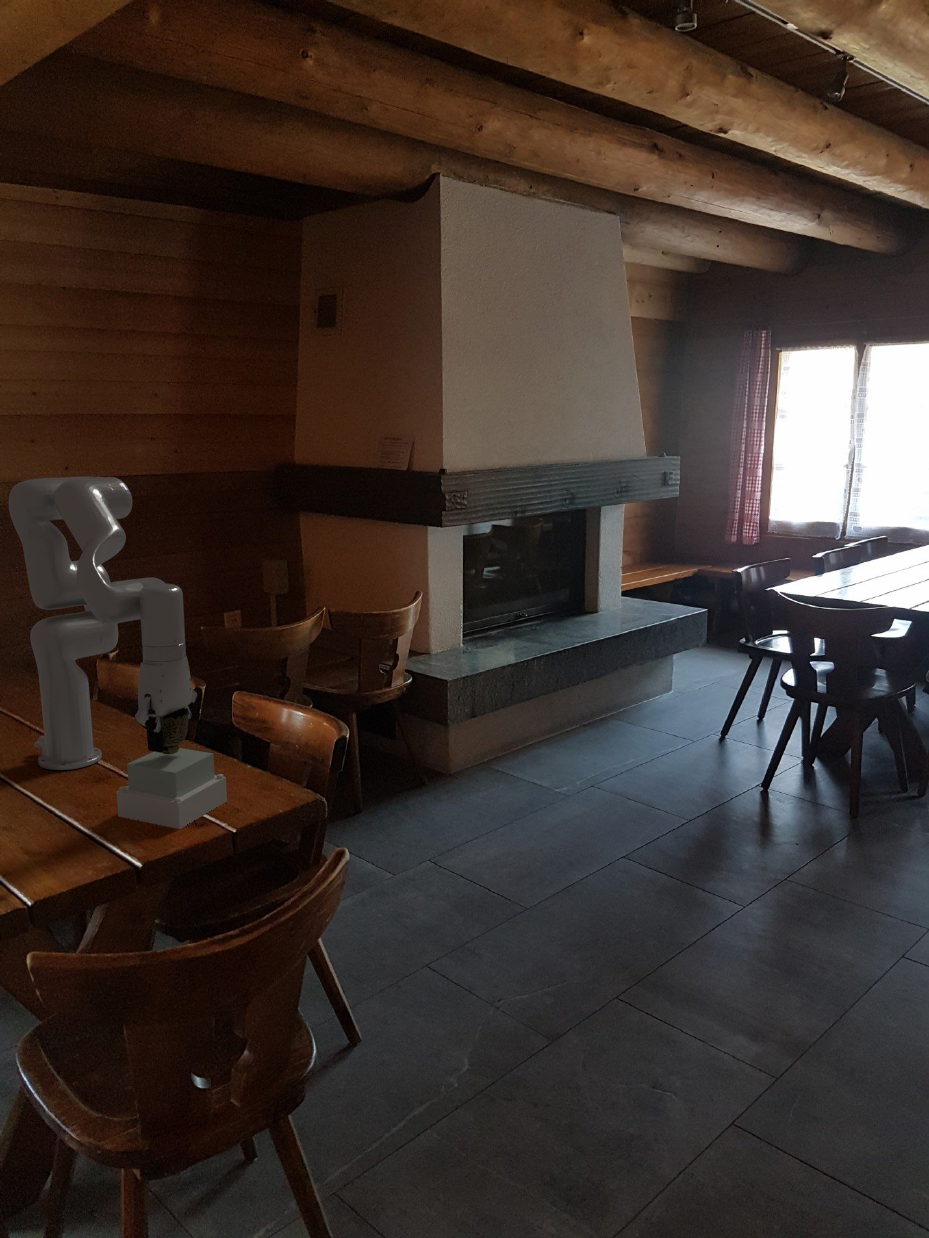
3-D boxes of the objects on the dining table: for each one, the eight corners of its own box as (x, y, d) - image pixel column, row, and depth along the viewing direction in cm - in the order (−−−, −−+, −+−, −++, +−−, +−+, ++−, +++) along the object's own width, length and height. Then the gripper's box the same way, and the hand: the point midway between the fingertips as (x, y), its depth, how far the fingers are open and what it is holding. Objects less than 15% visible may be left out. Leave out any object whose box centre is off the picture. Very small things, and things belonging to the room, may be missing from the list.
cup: (198, 748, 185) (196, 707, 183) (175, 761, 178) (173, 719, 176) (165, 743, 187) (163, 703, 186) (140, 755, 180) (138, 714, 179)
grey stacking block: (118, 816, 181) (114, 765, 179) (168, 790, 194) (165, 742, 192) (179, 829, 176) (176, 776, 174) (226, 801, 189) (224, 752, 186)
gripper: (178, 639, 188) (183, 728, 192) (114, 660, 172) (120, 756, 176) (210, 643, 185) (214, 733, 189) (148, 665, 169) (154, 762, 173)
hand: (169, 744), depth 182 cm, fingers closed on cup, 6 cm apart
